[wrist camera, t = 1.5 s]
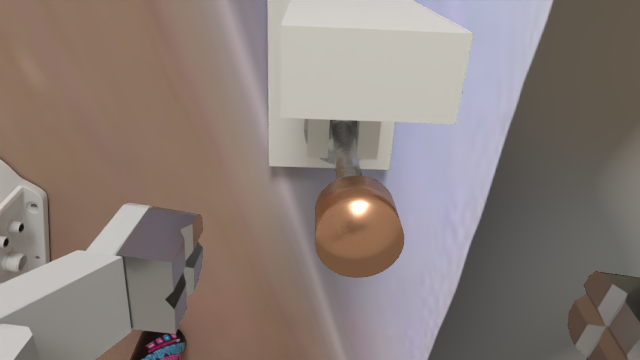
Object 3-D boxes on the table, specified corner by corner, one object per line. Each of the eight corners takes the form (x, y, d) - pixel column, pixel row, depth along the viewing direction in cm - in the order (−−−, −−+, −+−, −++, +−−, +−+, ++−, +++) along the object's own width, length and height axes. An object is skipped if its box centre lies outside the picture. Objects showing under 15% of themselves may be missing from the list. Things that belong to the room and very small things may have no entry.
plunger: (373, 158, 39) (411, 290, 24) (303, 156, 39) (298, 288, 24) (380, 89, 36) (429, 191, 21) (305, 86, 36) (300, 187, 21)
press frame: (386, 162, 55) (457, 368, 28) (270, 158, 54) (230, 364, 28) (408, -18, 46) (543, 36, 19) (269, -24, 45) (207, 22, 19)
